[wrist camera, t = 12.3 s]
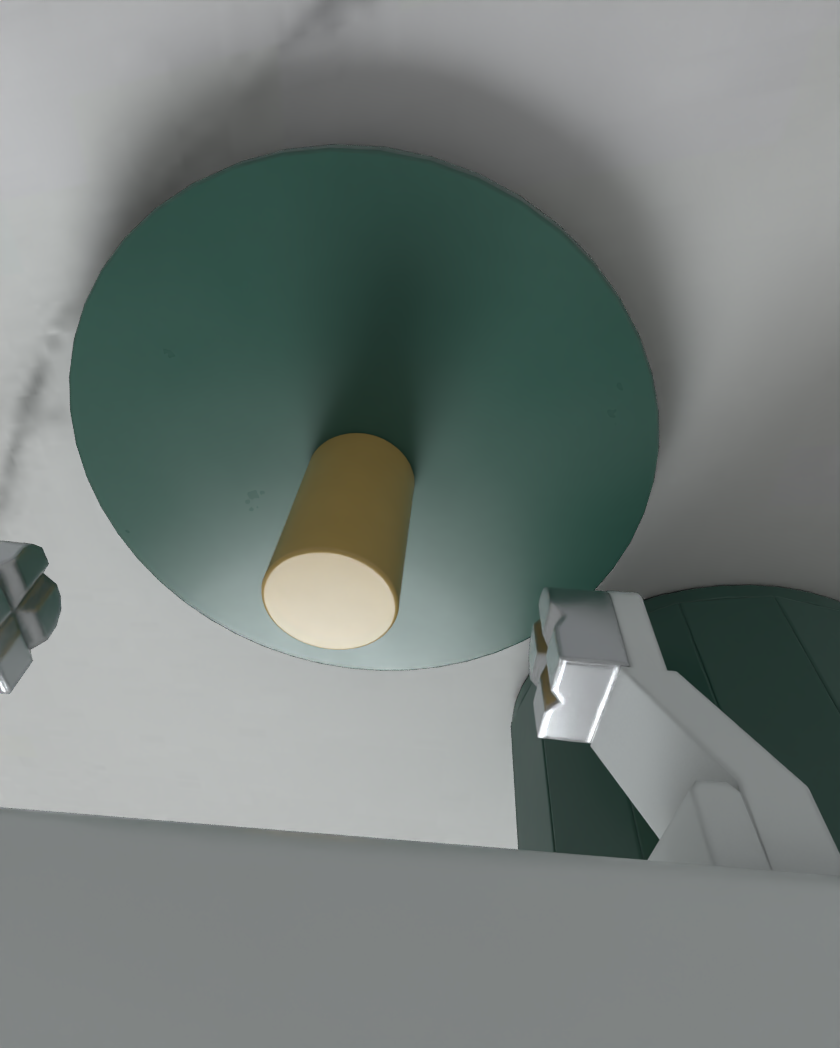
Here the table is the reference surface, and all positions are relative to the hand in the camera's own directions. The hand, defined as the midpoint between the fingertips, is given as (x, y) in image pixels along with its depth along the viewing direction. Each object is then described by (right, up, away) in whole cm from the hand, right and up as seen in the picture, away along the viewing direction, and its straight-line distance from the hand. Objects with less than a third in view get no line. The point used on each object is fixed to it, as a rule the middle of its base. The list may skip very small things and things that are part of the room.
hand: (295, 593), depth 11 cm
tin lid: (+1, +2, +4) cm, 5 cm away
